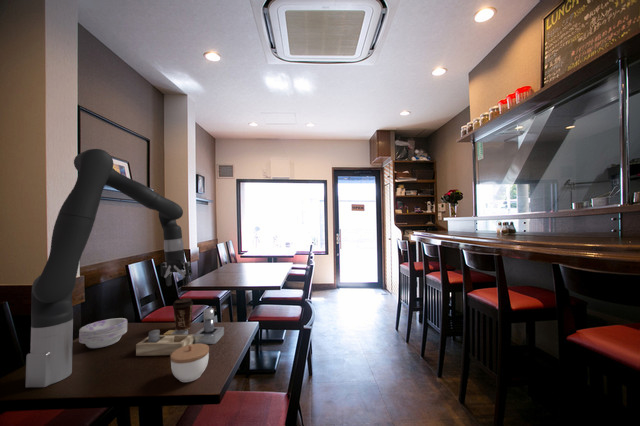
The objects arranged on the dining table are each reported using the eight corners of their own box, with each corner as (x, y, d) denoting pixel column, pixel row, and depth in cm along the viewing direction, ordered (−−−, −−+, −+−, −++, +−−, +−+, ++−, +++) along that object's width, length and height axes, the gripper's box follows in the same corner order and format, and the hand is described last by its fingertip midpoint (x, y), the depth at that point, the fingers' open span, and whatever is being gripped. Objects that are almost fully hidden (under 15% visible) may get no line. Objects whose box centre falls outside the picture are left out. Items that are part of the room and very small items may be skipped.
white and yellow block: (182, 341, 106) (182, 333, 106) (163, 341, 106) (163, 334, 106) (188, 337, 110) (188, 329, 110) (169, 337, 110) (169, 330, 110)
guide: (194, 342, 104) (194, 340, 104) (162, 343, 104) (162, 341, 105) (201, 336, 111) (201, 333, 111) (171, 336, 111) (171, 334, 111)
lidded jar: (209, 364, 87) (209, 335, 88) (208, 381, 77) (208, 349, 78) (173, 371, 83) (173, 341, 84) (167, 391, 73) (167, 357, 74)
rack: (181, 354, 94) (181, 335, 95) (136, 355, 95) (136, 336, 95) (193, 344, 102) (193, 326, 103) (150, 345, 103) (150, 327, 103)
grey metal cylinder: (211, 341, 105) (211, 311, 106) (201, 341, 105) (201, 311, 106) (215, 337, 109) (215, 308, 110) (206, 337, 109) (206, 308, 110)
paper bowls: (99, 336, 114) (100, 318, 114) (135, 334, 114) (135, 316, 115) (67, 353, 98) (67, 331, 99) (108, 351, 99) (109, 330, 99)
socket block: (215, 343, 103) (215, 335, 103) (192, 344, 103) (192, 336, 103) (223, 334, 112) (223, 326, 112) (203, 334, 112) (203, 327, 112)
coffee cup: (173, 327, 122) (173, 299, 123) (193, 323, 125) (193, 296, 126) (171, 333, 114) (171, 303, 115) (192, 330, 118) (192, 301, 118)
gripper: (153, 251, 112) (157, 288, 113) (181, 250, 109) (185, 288, 110) (167, 248, 120) (170, 283, 120) (194, 247, 116) (197, 282, 117)
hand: (177, 285), depth 115 cm, fingers open, 8 cm apart
